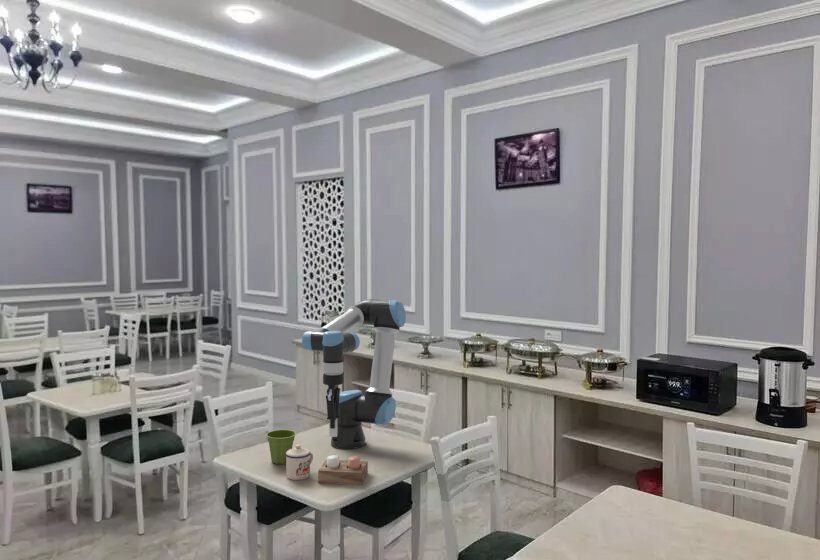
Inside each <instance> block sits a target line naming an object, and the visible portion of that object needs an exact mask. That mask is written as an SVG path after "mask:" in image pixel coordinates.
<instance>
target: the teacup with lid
mask: <svg viewBox="0 0 820 560" xmlns="http://www.w3.org/2000/svg"><path fill="white" fill-rule="evenodd" d="M313 460H314V455H313V453H311V451H310V449H308V448H305V447H303V446H302V445H301V444H296V445H295V446H294V447H292V449H290V450H288V451H287V452H286V463H285V464H286V465H285V466H286V468H285V469H286V471H285V472H286V475H285V476H286V478H287V479H289V480H294V481H299V480H305V479H308V477H309V476H310V474H311V473H310V472H311V467H310V466H311V464H312V462H313Z"/></svg>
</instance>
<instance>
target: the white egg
mask: <svg viewBox="0 0 820 560" xmlns="http://www.w3.org/2000/svg"><path fill="white" fill-rule="evenodd" d="M326 459H327V467H328V468H338V467H339V460H340V456H339V455H336V454H335V455H334V454H333V455H332V454H331V455H328V456H327V457H326Z"/></svg>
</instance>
